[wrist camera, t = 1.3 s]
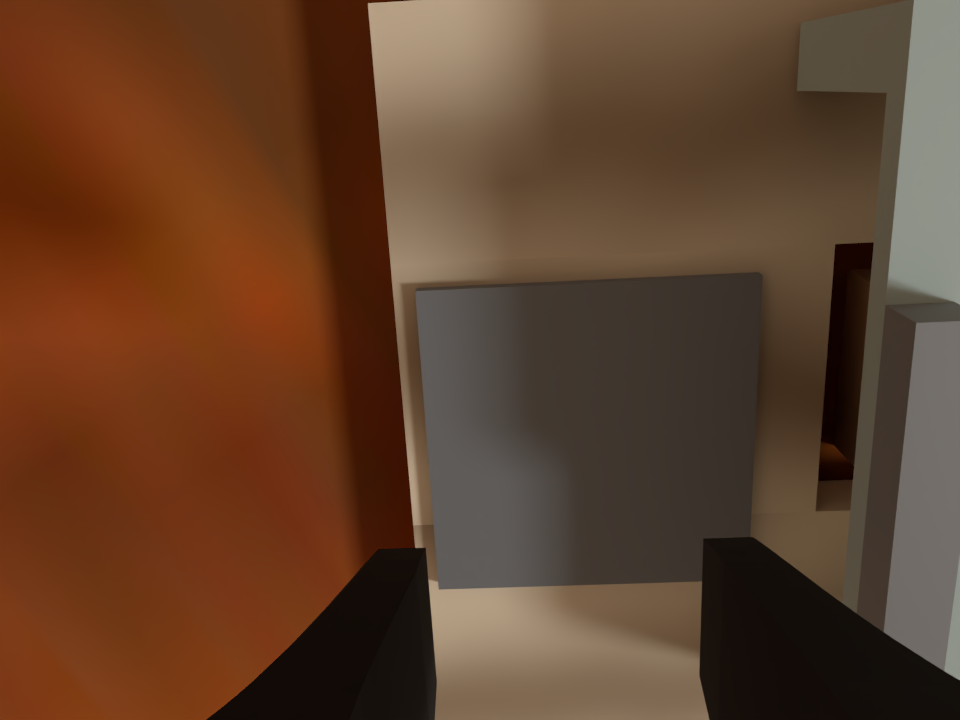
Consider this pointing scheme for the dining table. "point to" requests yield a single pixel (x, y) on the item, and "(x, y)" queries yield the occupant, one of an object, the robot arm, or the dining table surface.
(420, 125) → the puzzle board
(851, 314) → the walnut block
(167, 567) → the dining table surface
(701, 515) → the slate pad
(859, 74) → the sled cover
